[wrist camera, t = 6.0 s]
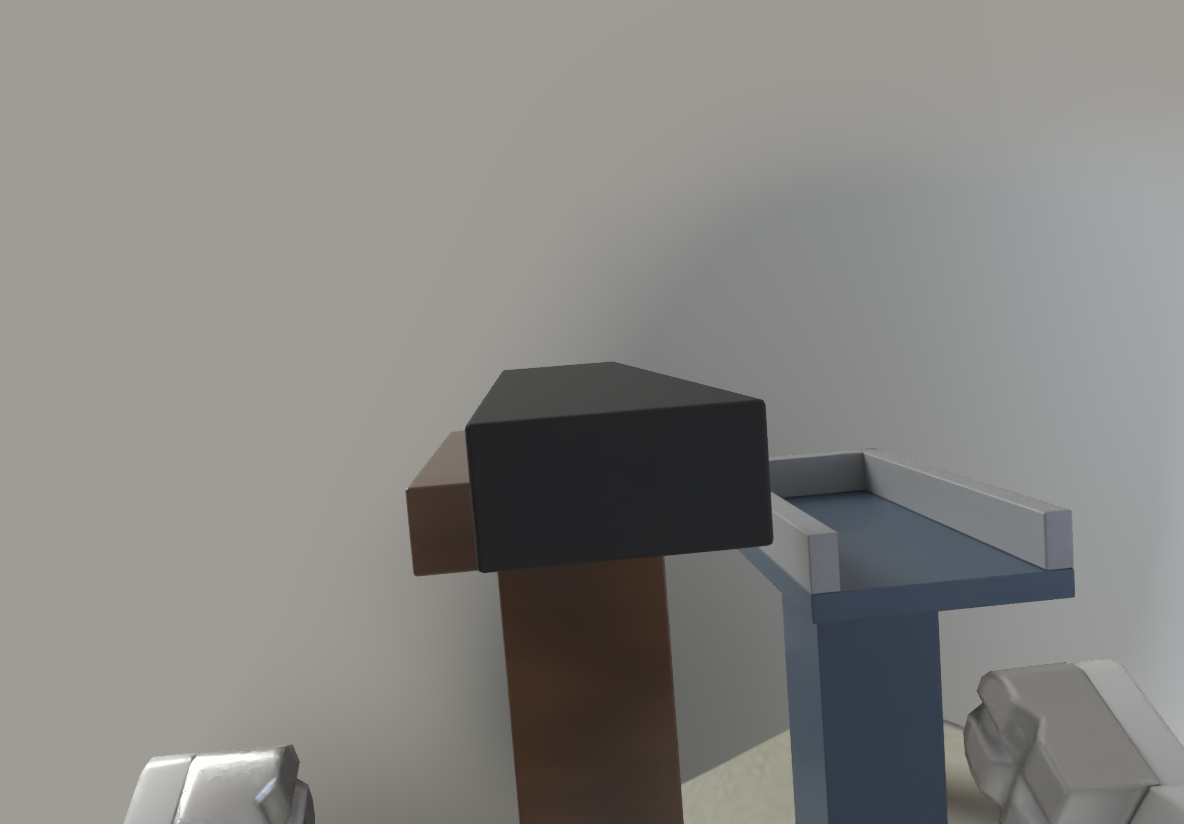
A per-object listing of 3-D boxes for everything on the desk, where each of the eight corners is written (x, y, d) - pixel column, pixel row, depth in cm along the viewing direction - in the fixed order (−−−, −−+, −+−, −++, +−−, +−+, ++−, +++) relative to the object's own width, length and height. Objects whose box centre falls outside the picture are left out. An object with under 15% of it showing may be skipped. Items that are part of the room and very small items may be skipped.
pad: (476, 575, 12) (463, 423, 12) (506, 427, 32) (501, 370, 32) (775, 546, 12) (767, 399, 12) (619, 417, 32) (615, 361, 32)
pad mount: (829, 1160, 31) (792, 536, 29) (722, 871, 48) (694, 463, 46) (1106, 1120, 32) (1087, 507, 30) (903, 849, 49) (883, 446, 47)
